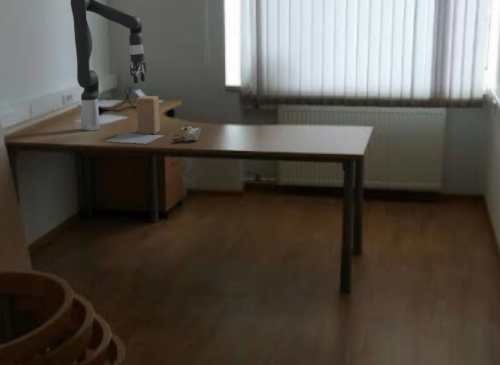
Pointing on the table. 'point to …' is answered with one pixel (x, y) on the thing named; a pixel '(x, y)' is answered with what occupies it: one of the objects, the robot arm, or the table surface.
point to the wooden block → (148, 115)
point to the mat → (134, 138)
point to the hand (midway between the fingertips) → (139, 82)
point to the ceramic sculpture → (187, 134)
